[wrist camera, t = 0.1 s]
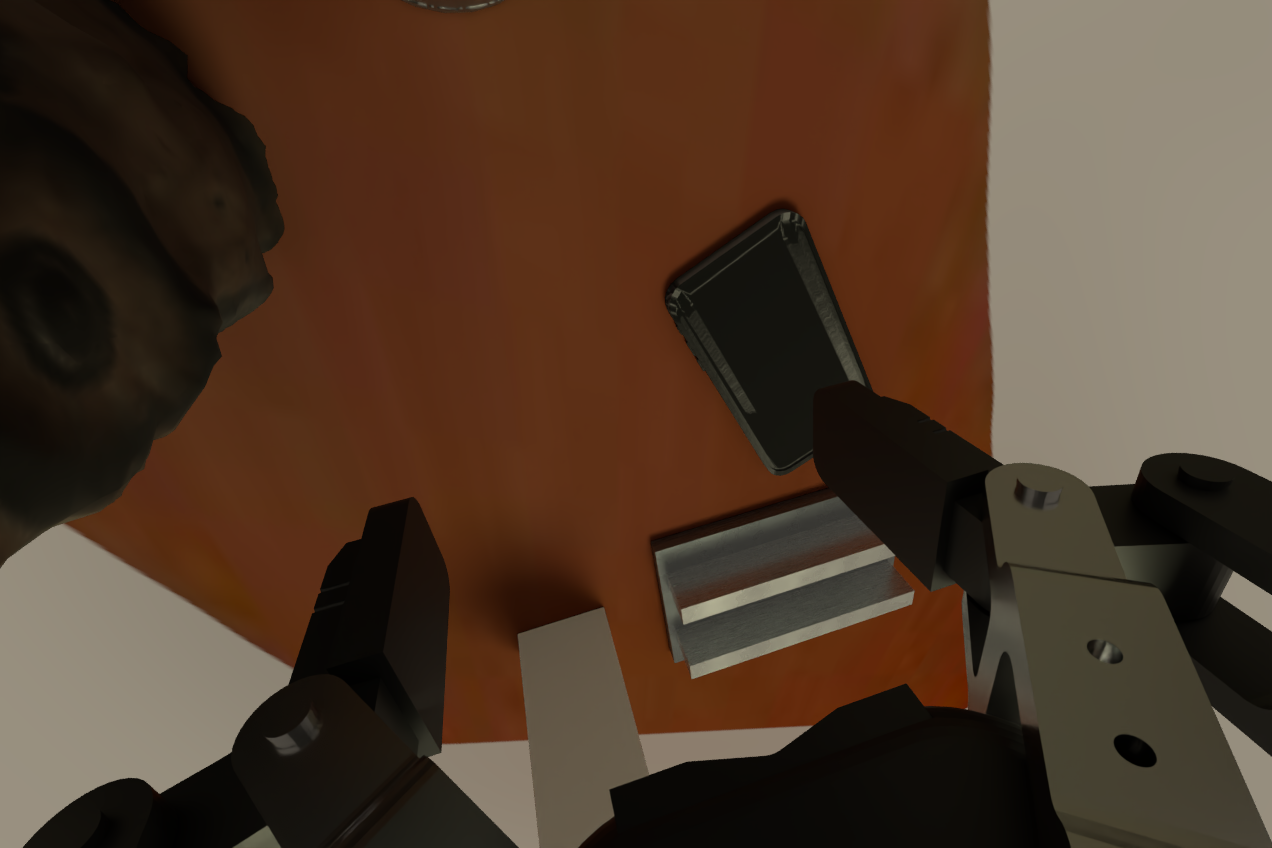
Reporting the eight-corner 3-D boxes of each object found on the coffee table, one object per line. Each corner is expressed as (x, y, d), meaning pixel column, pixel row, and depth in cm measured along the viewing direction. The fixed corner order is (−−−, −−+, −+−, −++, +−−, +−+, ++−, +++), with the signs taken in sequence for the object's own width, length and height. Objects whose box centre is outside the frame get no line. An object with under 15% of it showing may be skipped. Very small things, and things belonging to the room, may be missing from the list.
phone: (797, 201, 27) (881, 412, 35) (786, 197, 28) (871, 404, 36) (659, 299, 27) (774, 483, 36) (652, 291, 28) (766, 472, 37)
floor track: (650, 541, 37) (669, 587, 33) (898, 466, 39) (938, 503, 36) (670, 651, 43) (687, 699, 40) (881, 582, 46) (913, 621, 42)
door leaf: (517, 633, 38) (548, 931, 25) (603, 606, 39) (677, 881, 26) (527, 657, 39) (561, 950, 26) (610, 631, 40) (683, 902, 27)
